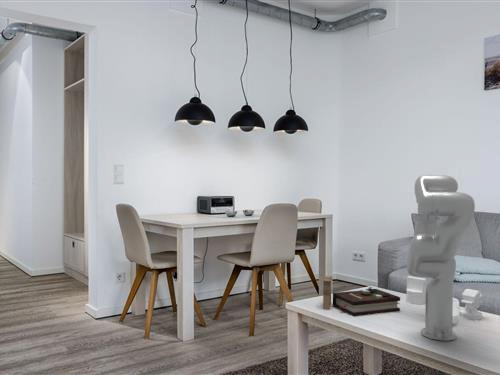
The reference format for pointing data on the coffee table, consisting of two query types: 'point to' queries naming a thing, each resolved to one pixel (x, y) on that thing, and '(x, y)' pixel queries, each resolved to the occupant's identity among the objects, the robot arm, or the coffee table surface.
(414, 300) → the cylinder with rectangular tab
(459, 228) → the robot arm
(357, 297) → the decorative book
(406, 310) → the coffee table surface
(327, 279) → the bookend
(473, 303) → the character figurine
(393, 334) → the coffee table surface
